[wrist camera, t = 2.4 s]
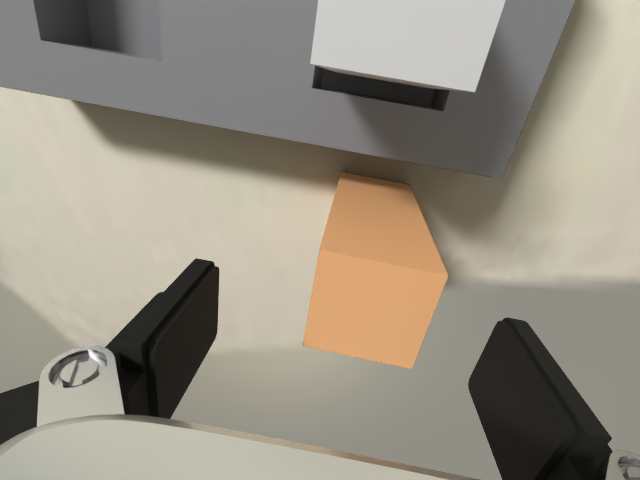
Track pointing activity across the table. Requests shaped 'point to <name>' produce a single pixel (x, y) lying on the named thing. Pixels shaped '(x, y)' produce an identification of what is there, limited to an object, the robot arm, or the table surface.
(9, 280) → the table surface
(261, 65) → the power strip
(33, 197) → the table surface
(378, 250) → the plug
